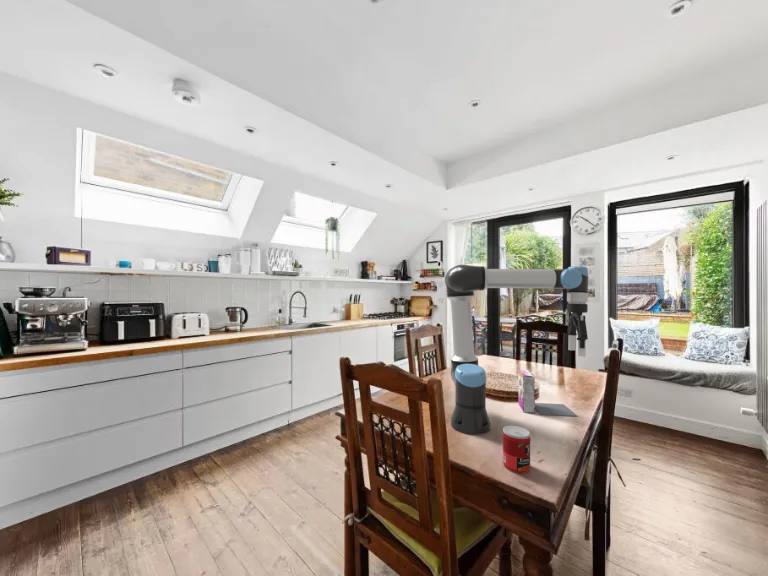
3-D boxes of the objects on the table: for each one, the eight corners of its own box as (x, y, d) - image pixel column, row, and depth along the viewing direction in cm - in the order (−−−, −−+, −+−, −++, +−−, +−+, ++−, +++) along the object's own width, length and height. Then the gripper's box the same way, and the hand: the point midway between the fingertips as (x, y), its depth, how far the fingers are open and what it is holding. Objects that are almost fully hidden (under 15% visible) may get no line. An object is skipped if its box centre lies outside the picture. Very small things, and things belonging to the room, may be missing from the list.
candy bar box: (517, 403, 153) (517, 369, 153) (528, 404, 152) (529, 369, 152) (522, 412, 142) (523, 375, 142) (535, 413, 141) (535, 376, 141)
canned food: (521, 477, 93) (521, 439, 93) (497, 464, 100) (497, 429, 100) (535, 468, 98) (535, 432, 98) (511, 457, 104) (511, 423, 104)
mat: (540, 414, 140) (540, 413, 140) (530, 403, 154) (530, 402, 154) (577, 416, 138) (577, 415, 138) (563, 405, 152) (563, 404, 152)
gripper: (597, 304, 123) (596, 359, 123) (578, 302, 147) (577, 348, 147) (575, 303, 126) (574, 358, 125) (560, 301, 149) (559, 347, 149)
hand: (576, 353), depth 136 cm, fingers open, 13 cm apart
